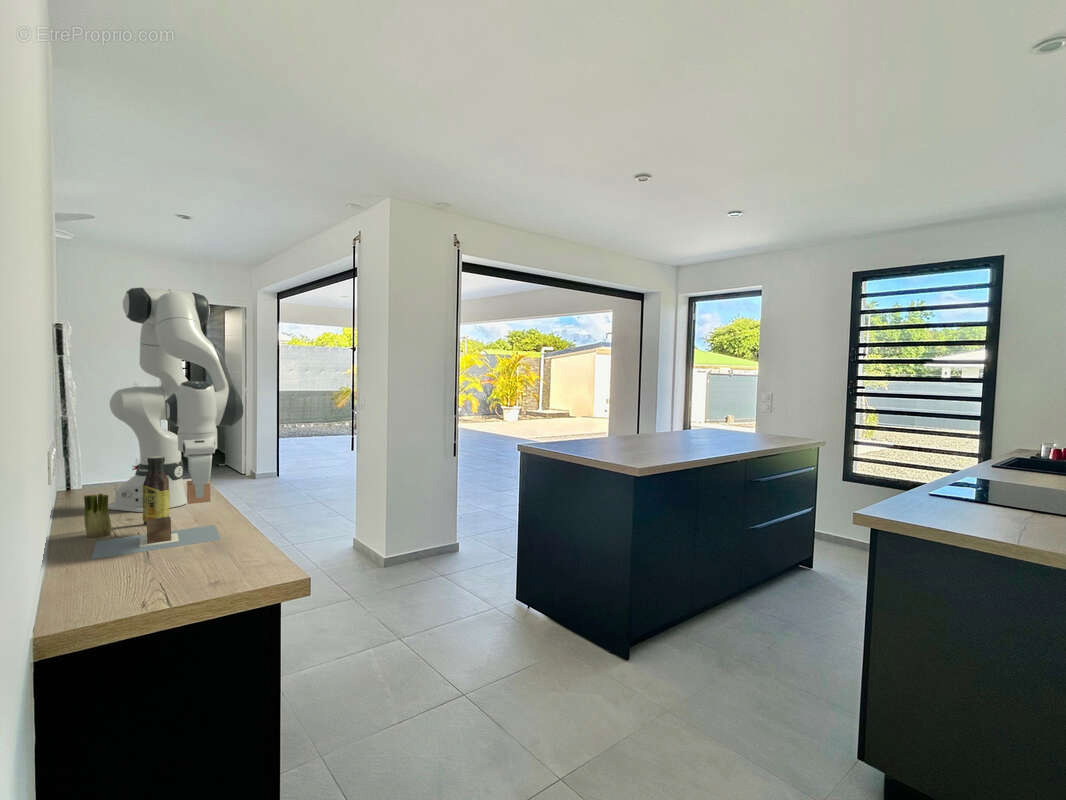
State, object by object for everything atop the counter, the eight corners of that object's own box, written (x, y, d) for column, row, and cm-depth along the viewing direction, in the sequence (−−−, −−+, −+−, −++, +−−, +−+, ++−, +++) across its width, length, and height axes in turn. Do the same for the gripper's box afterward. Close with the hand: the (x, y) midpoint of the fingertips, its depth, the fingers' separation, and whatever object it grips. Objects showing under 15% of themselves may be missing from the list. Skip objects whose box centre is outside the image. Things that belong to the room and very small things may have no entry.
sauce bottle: (138, 526, 153) (136, 457, 152) (162, 521, 159) (160, 454, 158) (151, 529, 150) (149, 458, 149) (174, 524, 156) (173, 455, 154)
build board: (91, 563, 124) (90, 558, 124) (96, 544, 137) (96, 540, 137) (221, 543, 139) (221, 539, 139) (215, 528, 152) (215, 524, 152)
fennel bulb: (81, 540, 140) (80, 494, 140) (103, 535, 145) (102, 490, 144) (94, 543, 138) (92, 497, 137) (115, 538, 142) (114, 493, 142)
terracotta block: (187, 504, 139) (187, 485, 139) (186, 499, 143) (186, 481, 143) (210, 501, 142) (210, 483, 142) (208, 497, 146) (208, 479, 146)
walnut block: (147, 543, 134) (146, 524, 134) (147, 538, 138) (146, 519, 138) (171, 540, 137) (170, 521, 137) (170, 535, 141) (170, 516, 141)
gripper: (181, 438, 148) (182, 487, 149) (185, 449, 132) (186, 505, 133) (208, 436, 152) (209, 485, 153) (215, 447, 135) (216, 501, 136)
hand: (198, 494), depth 143 cm, fingers closed on terracotta block, 5 cm apart
